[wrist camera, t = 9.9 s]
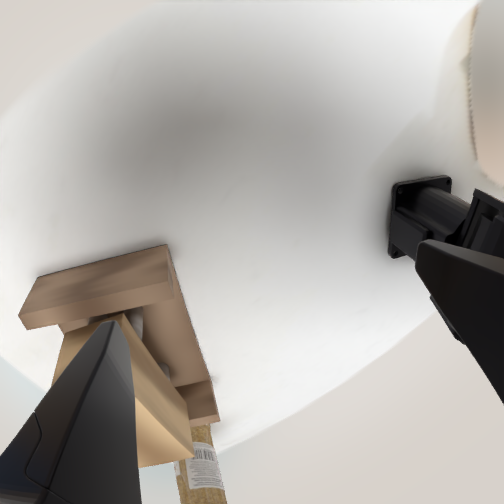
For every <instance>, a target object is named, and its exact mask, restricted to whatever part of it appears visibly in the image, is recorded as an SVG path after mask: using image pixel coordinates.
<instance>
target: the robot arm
mask: <svg viewBox="0 0 504 504" xmlns="http://www.w3.org/2000/svg"><path fill="white" fill-rule="evenodd" d="M446 181H447V182H446ZM451 185H452V179H451V178H450V177H449V176H446V175H445V176H439V177H432V178H426V179H419V180H413V181H407V182H401V183H397V184H395V185H394V187H393V196H392V214H391V228H390V241H389V252H388V253H389V256H390V257H391V258H393V259H395V258H399V257H402V256H405V255H408V256H409V257H410V258H411V259H413V260H414V261H415V269H416V272H417V274H418V275H419V277H420V278H421V280H422V281H423V283H424V285H425V286H426V288H427V289H428V291H429V292H430V294H431V296H430V299H431V301H432V302H433V304H434V305H435V307H436V309H437V310H438V312H439V313H440V315H441V316H442V318H443V320H444V321H445V323H446V325H447V326H448V328H449V330H450V331H451V333H452V334H453V335H454V337H455V339H457V340H459V341H460V342H461V343H462V344H464V345H466V346H467V348H468V349H469V351H470V352H471V353H472V355H473V356H474V358H475V359H476V361H477V362H478V364H479V366H480V367H481V369H482V370H483V372H484V373H485V375H486V376H487V378H488V379H489V381H490V383H491V384H492V386H493V387H494V389H495V391H496V392H497V394H498V396H499V397H500V399H501V401H502V403H503V404H504V202H502V201H500V200H498V199H497V198H494V197H492V196H490V195H488V194H486V193H484V192H482V191H480V190H478V189H476V188H475V190H474V193H473V196H474V197H473V200H472V203H471V204H469V203H467V202H465V201H463V200H461V199H460V198H458V197H456V196H454V195H452V194H451ZM399 188H400V191H399V192H398V190H399ZM394 252H395V253H394ZM34 411H35V413H34V412H33V413H32V414H31V416H30V417H29V419H28V420H27V421H26V423H25V424H24V425H23V427H22V428H21V430H20V431H19V432H18V434H17V435H16V437H15V438H14V439H13V441H12V442H11V443H10V444H9V446H8V447H7V448H6V450H5V451H4V452H3V453H2V454H1V456H0V504H142V501H141V492H140V482H139V470H138V456H137V438H136V409H135V393H134V385H133V377H132V368H131V358H130V349H129V345H128V342H127V340H126V338H125V336H124V334H123V332H122V330H121V328H120V326H119V324H118V322H117V321H115V320H111V321H106V322H102V323H101V324H100V325H99V326H98V328H97V329H96V330H95V331H94V332H93V334H92V335H91V336H90V337H89V339H88V340H87V341H86V342H85V344H84V345H83V346H82V348H81V349H80V350H79V351H78V353H77V354H76V355H75V356H74V358H73V359H72V360H71V362H70V363H69V364H68V366H67V367H66V368H65V369H64V371H63V372H62V373H61V375H60V376H59V377H58V379H57V380H56V381H55V383H54V384H53V385H52V387H51V388H50V389H49V391H48V392H47V393H46V395H45V396H44V398H43V399H42V400H41V402H40V403H39V405H38V406H37V407H36V409H35V410H34Z"/></svg>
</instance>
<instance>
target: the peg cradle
mask: <svg viewBox="0 0 504 504" xmlns="http://www.w3.org/2000/svg"><path fill="white" fill-rule="evenodd" d="M122 313H124V315H125V316H126V318H127V320H128V321H129V323H130V324H131V326H132V327H133V329H134V330H135V332H136V334H137V335H138V337H139V338H140V340H141V341H142V343H143V344H144V346H145V347H146V348H147V350H148V351H149V353H150V354H151V356H152V357H153V359H154V360H155V361H156V363H157V364H158V366H159V367H160V368H161V370H162V371H163V373H164V374H165V375H166V377H167V378H168V379H169V381H170V382H171V384H172V385H173V386H174V388H175V389H176V390H177V391H178V393H179V394H180V395H181V397H182V398H183V399H184V401H185V402H186V403H187V410H188V417H189V423H190V427H195V426H200V425H205V424H210V423H215V422H219V421H220V418H219V413H218V409H217V404H216V400H215V395H214V391H213V386H212V382H211V379H210V376H209V374H208V371H207V368H206V365H205V362H204V360H203V357H202V354H201V351H200V348H199V345H198V342H197V339H196V336H195V334H194V331H193V328H192V325H191V321H190V318H189V315H188V312H187V309H186V306H185V303H184V300H183V296H182V293H181V290H180V287H179V283H178V280H177V277H176V273H175V270H174V267H173V263H172V260H171V256H170V253H169V249H168V246H167V245H162V246H158V247H154V248H150V249H146V250H142V251H138V252H134V253H130V254H126V255H122V256H118V257H114V258H110V259H106V260H102V261H98V262H94V263H90V264H86V265H82V266H78V267H74V268H71V269H67V270H63V271H59V272H55V273H52V274H48V275H44V276H40V277H38V278H37V280H36V281H35V283H34V285H33V287H32V289H31V291H30V293H29V294H28V296H27V298H26V300H25V302H24V304H23V306H22V308H21V310H20V312H19V314H18V316H19V318H20V320H21V321H22V323H23V325H24V326H25V328H26V329H27V330H31V329H36V328H41V327H46V326H51V325H56V324H58V326H59V327H60V329H61V331H62V332H63V334H64V335H65V333H66V332H69V331H72V330H75V329H78V328H81V327H84V326H87V325H90V324H93V323H95V322H98V321H101V320H104V319H107V318H110V317H113V316H116V315H119V314H122Z"/></svg>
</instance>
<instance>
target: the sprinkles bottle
mask: <svg viewBox="0 0 504 504" xmlns="http://www.w3.org/2000/svg"><path fill="white" fill-rule="evenodd" d="M190 430H191V436H192V442H193V448H194V454H195V457H192V458H188V459H183V460H179V461H174V468H175V475H176V479H177V485H178V489H179V495H180V501H181V504H227V501H226V497H225V491H224V487H223V482H222V479H221V474H220V470H219V466H218V461H217V457H216V453H215V449H214V447H213V443H212V438H211V433H210V425H209V424H205V425H200V426H195V427H190Z"/></svg>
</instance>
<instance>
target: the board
mask: <svg viewBox="0 0 504 504" xmlns="http://www.w3.org/2000/svg"><path fill="white" fill-rule="evenodd" d="M111 320H115V321H117V322H118V324H119V326H120V328H121V330H122V332H123V334H124V336H125V338H126V340H127V342H128V345H129V349H130V358H131V368H132V377H133V385H134V393H135V409H136V438H137V456H138V467H139V468H142V467H147V466H153V465H159V464H164V463H169V462H174V461H179V460H183V459H188V458H192V457H195V454H194V448H193V442H192V436H191V430H190V423H189V417H188V410H187V403H186V402H185V401H184V399H183V398H182V397H181V395H180V394H179V393H178V391H177V390H176V389H175V388H174V386H173V385H172V384H171V382H170V381H169V379H168V378H167V377H166V375H165V374H164V373H163V371H162V370H161V368H160V367H159V366H158V364H157V363H156V361H155V360H154V359H153V357H152V356H151V354H150V353H149V351H148V350H147V348H146V347H145V346H144V344H143V343H142V341H141V340H140V338H139V337H138V335H137V334H136V332H135V330H134V329H133V327H132V326H131V324H130V323H129V321H128V320H127V318H126V316H125V315H124V313H122V314H119V315H116V316H113V317H110V318H107V319H104V320H101V321H98V322H95V323H93V324H90V325H87V326H84V327H81V328H78V329H75V330H72V331H69V332H66V333H65V335H64V339H63V342H62V346H61V350H60V353H59V357H58V361H57V365H56V369H55V373H54V377H53V381H52V385H53V384H54V383H55V381H56V380H57V379H58V377H59V376H60V375H61V373H62V372H63V371H64V369H65V368H66V367H67V366H68V364H69V363H70V362H71V360H72V359H73V358H74V356H75V355H76V354H77V353H78V351H79V350H80V349H81V348H82V346H83V345H84V344H85V342H86V341H87V340H88V339H89V337H90V336H91V335H92V334H93V332H94V331H95V330H96V329H97V328H98V326H99V325H100V324H101V323H102V322H106V321H111ZM52 385H51V387H52Z"/></svg>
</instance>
